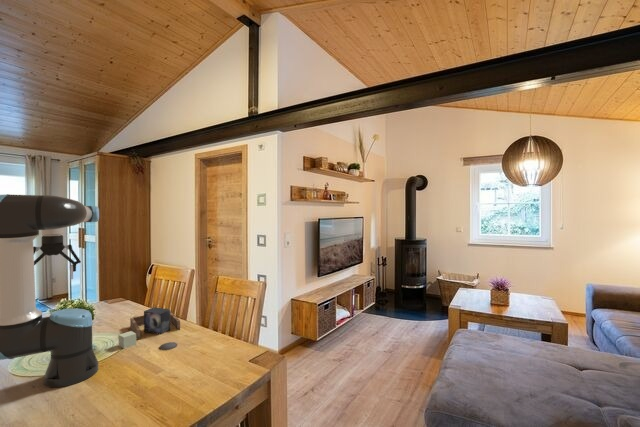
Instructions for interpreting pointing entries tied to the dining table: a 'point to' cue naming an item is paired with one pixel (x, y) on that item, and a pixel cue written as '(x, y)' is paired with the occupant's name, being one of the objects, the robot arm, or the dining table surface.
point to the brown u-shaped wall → (139, 320)
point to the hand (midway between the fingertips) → (53, 280)
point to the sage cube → (127, 339)
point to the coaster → (168, 346)
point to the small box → (157, 320)
